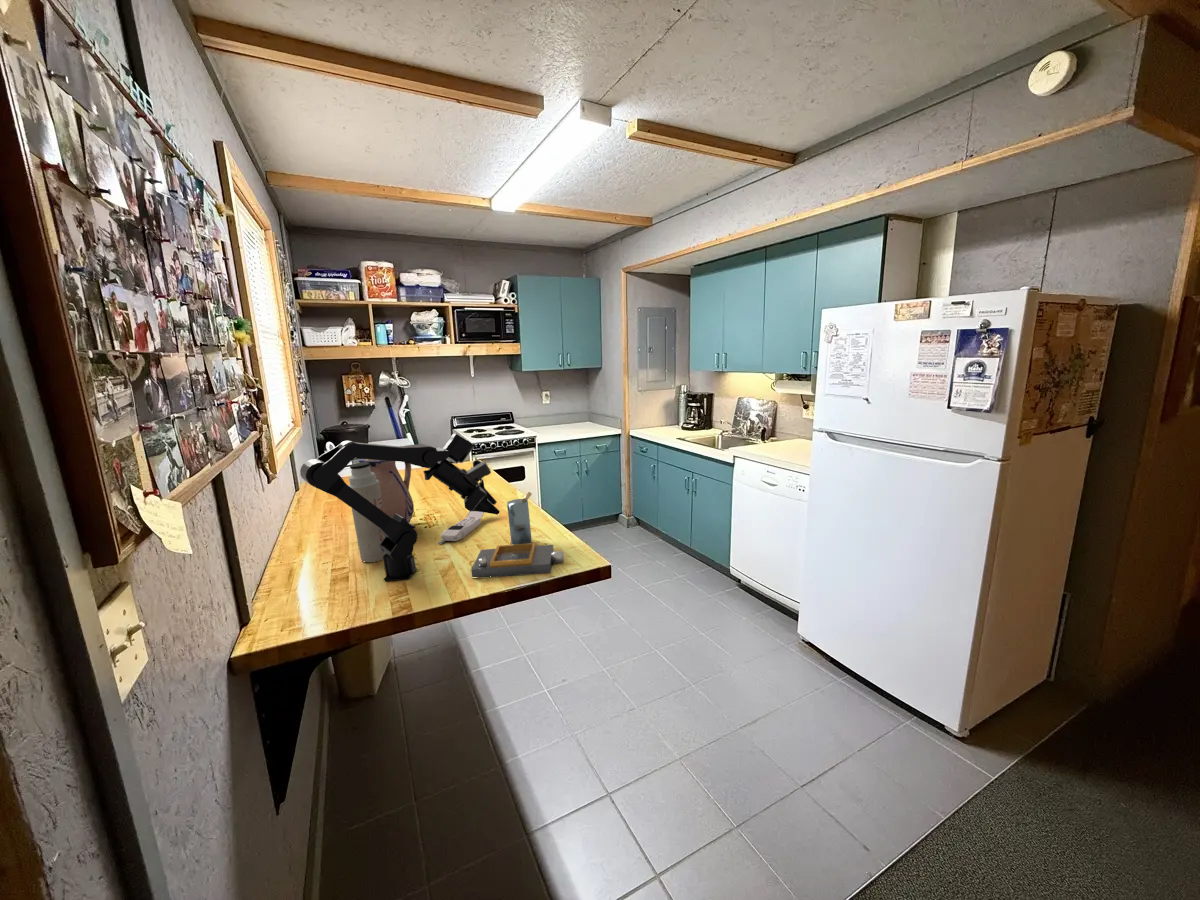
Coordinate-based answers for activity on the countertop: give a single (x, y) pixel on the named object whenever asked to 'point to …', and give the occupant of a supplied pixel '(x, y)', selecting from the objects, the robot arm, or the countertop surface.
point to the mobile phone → (462, 527)
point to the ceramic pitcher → (393, 487)
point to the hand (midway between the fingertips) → (497, 508)
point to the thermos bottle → (365, 529)
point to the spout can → (519, 520)
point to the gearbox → (516, 560)
